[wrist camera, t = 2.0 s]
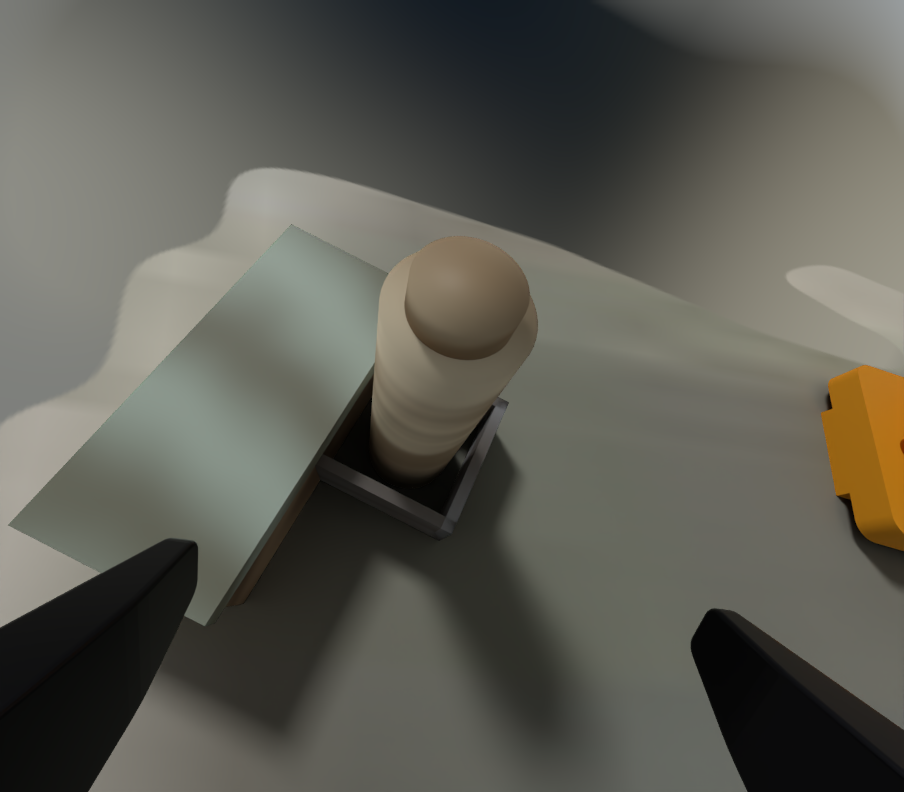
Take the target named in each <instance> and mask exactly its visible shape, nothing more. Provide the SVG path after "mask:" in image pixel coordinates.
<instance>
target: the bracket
mask: <svg viewBox="0 0 904 792" xmlns="http://www.w3.org/2000/svg"><path fill="white" fill-rule="evenodd" d="M828 388H829V393H830V398H831V403H832V408H833V409H830V410H827V411H825V412H822V413H821V416H822V422H823V427H824V432H825V438H826V443H827V448H828V454H829V459H830V464H831V470H832V475H833V480H834V486H835V491H836V496H840V497H843V498H846V499H850V500H851V502H852V507H853V512H854V517H855V521H856V524H857V527H858V528H859V530H860V532H861V533H862V534H863V535H864V536H865V537H866V538H867V539H868V540H870V541H872V542H874V543H877V544H881V545H884V546H888V547H891V548H895V549H898V550H901V551H904V377H901V376H898V375H895V374H892V373H889V372H886V371H883V370H880V369H877V368H874V367H871V366H867V365H863V366H860V367H858V368H856V369H853V370H851V371H849V372H846V373H844V374H842V375H839V376H837V377H835V378H832V379H831V380H830V381H829V383H828Z"/></svg>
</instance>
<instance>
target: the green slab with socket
mask: <svg viewBox="0 0 904 792" xmlns="http://www.w3.org/2000/svg"><path fill="white" fill-rule="evenodd" d="M387 276H388V273H386V272H384V271H382V270H380V269H379V268H377V267H375V266H373V265H371V264H369V263H367V262H365V261H363V260H361V259H359V258H357V257H355V256H353V255H351V254H349V253H347V252H345V251H343V250H341V249H339V248H337V247H335V246H333V245H331V244H329V243H327V242H325V241H323V240H321V239H320V238H318V237H316V236H314V235H312V234H310V233H308V232H306V231H304V230H302V229H300V228H298V227H296V226H294V225H292V224H291V225H290V226H289V227H288V228H287V229H286V231H285V232H284V233H283V234H282V235H281V236H280V237H279V238H278V239H277V240H276V241H275V242H274V243H273V244H272V245H271V246H270V248H269V249H268V250H267V251H266V252H265V253H264V254H263V255H262V256H261V257H260V258H259V259H258V260H257V261H256V262H255V263H254V265H253V266H252V267H251V268H250V269H249V270H248V271H247V272H246V273H245V274H244V275H243V276H242V277H241V278H240V279H239V280H238V282H237V283H236V284H235V285H234V286H233V287H232V288H231V289H230V290H229V291H228V292H227V293H226V294H225V295H224V296H223V297H222V298H221V300H220V301H219V302H218V303H217V304H216V305H215V306H214V307H213V308H212V309H211V310H210V311H209V312H208V313H207V314H206V315H205V317H204V318H203V319H202V320H201V321H200V322H199V323H198V324H197V325H196V326H195V327H194V328H193V329H192V330H191V331H190V332H189V334H188V335H187V336H186V337H185V338H184V339H183V340H182V341H181V342H180V343H179V344H178V345H177V346H176V347H175V348H174V349H173V350H172V352H171V353H170V354H169V355H168V356H167V357H166V358H165V359H164V360H163V361H162V362H161V363H160V364H159V365H158V366H157V367H156V369H155V370H154V371H153V372H152V373H151V374H150V375H149V376H148V377H147V378H146V379H145V380H144V381H143V382H142V383H141V384H140V386H139V387H138V388H137V389H136V390H135V391H134V392H133V393H132V394H131V395H130V396H129V397H128V398H127V399H126V400H125V401H124V403H123V404H122V405H121V406H120V407H119V408H118V409H117V410H116V411H115V412H114V413H113V414H112V415H111V416H110V417H109V418H108V419H107V421H106V422H105V423H104V424H103V425H102V426H101V427H100V428H99V429H98V430H97V431H96V432H95V433H94V434H93V435H92V436H91V438H90V439H89V440H88V441H87V442H86V443H85V444H84V445H83V446H82V447H81V448H80V449H79V450H78V451H77V452H76V453H75V455H74V456H73V457H72V458H71V459H70V460H69V461H68V462H67V463H66V464H65V465H64V466H63V467H62V468H61V469H60V470H59V471H58V473H57V474H56V475H55V476H54V477H53V478H52V479H51V480H50V481H49V482H48V483H47V484H46V485H45V486H44V487H43V488H42V490H41V491H40V492H39V493H38V494H37V495H36V496H35V497H34V498H33V499H32V500H31V501H30V502H29V503H28V504H27V505H26V507H25V508H24V509H23V510H22V511H21V512H20V513H19V514H18V515H17V516H16V517H15V518H14V519H13V520H12V521H11V522H10V524H9V526H11V527H13V528H15V529H16V530H18V531H20V532H22V533H24V534H26V535H28V536H30V537H32V538H34V539H36V540H38V541H40V542H42V543H44V544H46V545H48V546H50V547H51V548H53V549H55V550H57V551H59V552H61V553H63V554H65V555H67V556H69V557H71V558H73V559H75V560H77V561H79V562H81V563H83V564H85V565H86V566H88V567H90V568H92V569H94V570H96V571H98V572H100V573H103V572H105V571H106V570H108V569H110V568H112V567H114V566H116V565H118V564H119V563H121V562H123V561H125V560H127V559H129V558H131V557H132V556H134V555H136V554H138V553H140V552H142V551H144V550H145V549H147V548H149V547H151V546H153V545H155V544H157V543H158V542H160V541H162V540H164V539H167V538H179V539H187V540H193V541H195V542H196V543H197V545H198V581H197V587H196V590H195V593H194V596H193V598H192V600H191V602H190V604H189V606H188V608H187V611H186V613H185V615H184V616H186V617H188V618H190V619H191V620H193V621H195V622H197V623H199V624H201V625H203V626H207V625H211V624H214V623H215V622H216V621H217V619H218V618H219V616H220V614H221V613H222V611H223V610H224V608H225V607H228V606H234V605H239V604H244V602H245V600H246V599H247V597H248V596H249V594H250V592H251V591H252V589H253V588H254V586H255V584H256V583H257V581H258V579H259V578H260V576H261V575H262V573H263V571H264V570H265V568H266V567H267V565H268V563H269V562H270V560H271V558H272V557H273V555H274V554H275V552H276V550H277V549H278V547H279V546H280V544H281V542H282V541H283V539H284V537H285V536H286V534H287V533H288V531H289V529H290V528H291V526H292V525H293V523H294V521H295V520H296V518H297V516H298V515H299V513H300V512H301V510H302V508H303V507H304V505H305V504H306V502H307V500H308V499H309V497H310V495H311V494H312V492H313V491H314V489H315V487H316V486H317V484H318V483H319V481H320V480H322V481H324V482H326V483H327V484H329V485H331V486H333V487H335V488H337V489H339V490H341V491H343V492H345V493H347V494H349V495H351V496H353V497H355V498H357V499H359V500H361V501H363V502H365V503H367V504H369V505H370V506H372V507H374V508H376V509H378V510H380V511H382V512H384V513H386V514H388V515H390V516H392V517H394V518H396V519H398V520H400V521H402V522H404V523H406V524H408V525H410V526H412V527H413V528H415V529H417V530H419V531H421V532H423V533H425V534H427V535H429V536H431V537H433V538H435V539H437V540H441V539H443V538H445V537H447V536H449V535H451V534H452V533H453V530H454V528H455V526H456V523H457V521H458V519H459V516H460V514H461V512H462V510H463V507H464V505H465V503H466V500H467V498H468V496H469V493H470V491H471V489H472V486H473V484H474V482H475V480H476V477H477V475H478V473H479V470H480V468H481V466H482V463H483V461H484V459H485V456H486V454H487V452H488V449H489V447H490V445H491V443H492V440H493V438H494V436H495V433H496V431H497V429H498V426H499V424H500V422H501V419H502V417H503V415H504V413H505V410H506V408H507V406H508V403H509V402H507V401H505V400H503V399H501V398H499V397H497V399H496V400H495V401H494V403H493V404H492V405H491V407H490V408H489V409H488V411H487V412H486V413H485V415H484V416H483V417H482V419H481V420H480V421H479V423H478V424H477V425H476V426H477V427H479V429H478V431H477V433H476V436H475V438H474V440H473V442H472V444H471V446H470V449H469V451H468V453H467V455H466V457H465V460H464V462H463V464H462V466H461V468H460V471H459V473H458V475H457V477H456V479H455V481H454V484H453V486H452V488H451V490H450V492H449V495H448V497H447V499H446V501H445V503H444V505H443V508H442V510H441V512H440V514H439V513H437V512H435V511H433V510H432V509H430V508H428V507H426V506H424V505H422V504H420V503H418V502H416V501H414V500H412V499H410V498H408V497H406V496H404V495H402V494H400V493H398V492H396V491H394V490H392V489H390V488H389V487H387V486H385V485H383V484H381V483H379V482H377V481H375V480H373V479H371V478H369V477H367V476H365V475H363V474H361V473H359V472H357V471H355V470H353V469H351V468H349V467H347V466H345V465H344V464H342V463H340V462H338V461H336V460H334V459H333V458H334V457H335V455H336V454H337V452H338V450H339V449H340V447H341V445H342V444H343V442H344V441H345V439H346V437H347V436H348V434H349V433H350V431H351V429H352V428H353V426H354V424H355V423H356V421H357V420H358V418H359V416H360V415H361V413H362V412H363V410H364V408H365V407H366V405H367V403H368V402H369V400H370V399H371V397H372V395H373V381H374V367H375V353H376V339H377V324H378V310H379V297H380V293H381V288H382V286H383V283H384V281H385V279H386V277H387Z"/></svg>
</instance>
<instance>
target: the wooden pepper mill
mask: <svg viewBox="0 0 904 792" xmlns="http://www.w3.org/2000/svg"><path fill="white" fill-rule="evenodd" d="M537 331H538V319H537V312H536V309H535V305H534V303H533V300H532V298H531V296H530V292H529V286H528V282H527V279H526V277H525V275H524V273H523V271H522V269H521V268H520V267H519V265H518V264H517V263H516V262H515V261H514V259H513V258H512V257H510V256H509V255H508V254H507V253H506V252H504V251H503V250H502V249H500V248H498V247H497V246H495V245H493V244H491V243H489V242H486V241H483V240H480V239H477V238H472V237H465V236H453V237H446V238H442V239H439V240H436V241H434V242H431V243H429V244H428V245H426V246H425V247H424V248H423V249H421V250H420V251H419V252H416V253H414V254H412V255H410V256H408V257H406V258H405V259H403V260H402V261H400V262H399V263H398V264H397V265H396V266H395V267H394V268H393V269H392V270H391V272H390V273H389V274H388V276H387V277H386V279H385V281H384V283H383V286H382V288H381V293H380V297H379V310H378V324H377V339H376V353H375V367H374V381H373V396H372V410H371V424H370V438H369V457H370V461H371V464H372V466H373V468H374V470H375V471H376V472H377V474H378V475H379V476H380V477H381V478H382V479H383V480H384V481H386V482H387V483H389V484H391V485H393V486H396V487H399V488H405V489H414V488H419V487H423V486H425V485H427V484H429V483H431V482H432V481H434V480H435V479H436V478H437V477H438V476H439V475H440V474H441V472H442V471H443V470H444V468H445V467H446V466H447V464H448V463H449V462H450V460H451V459H452V458H453V456H454V455H455V454H456V452H457V451H458V450H459V448H460V447H461V446H462V444H463V443H464V441H465V440H466V439H467V437H468V436H469V435H470V433H471V432H472V431H473V429H474V428H475V427H476V425H477V424H478V423H479V421H480V420H481V419H482V417H483V416H484V415H485V413H486V412H487V411H488V409H489V408H490V407H491V405H492V404H493V403H494V401H495V400H496V399H497V397H498V396H499V395H500V393H501V392H502V391H503V389H504V388H505V387H506V385H507V384H508V383H509V381H510V380H511V379H512V377H513V376H514V374H515V373H516V372H517V370H518V369H519V368H520V366H521V365H522V364H523V362H524V361H525V360H526V358H527V357H528V356H529V354H530V352H531V351H532V349H533V347H534V344H535V341H536V337H537Z"/></svg>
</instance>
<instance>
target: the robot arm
mask: <svg viewBox="0 0 904 792" xmlns="http://www.w3.org/2000/svg"><path fill="white" fill-rule="evenodd" d="M197 581H198V545H197V543H196V542H195V541H193V540H187V539H179V538H167V539H164V540H162V541H160V542H158V543H157V544H155V545H153V546H151V547H149V548H147V549H145V550H144V551H142V552H140V553H138V554H136V555H134V556H132V557H131V558H129V559H127V560H125V561H123V562H121V563H119V564H118V565H116V566H114V567H112V568H110V569H108V570H106V571H105V572H103V573H101V574H99V575H97V576H95V577H93V578H92V579H90V580H88V581H86V582H84V583H82V584H80V585H78V586H77V587H75V588H73V589H71V590H69V591H67V592H65V593H64V594H62V595H60V596H58V597H56V598H54V599H52V600H51V601H49V602H47V603H45V604H43V605H41V606H39V607H38V608H36V609H34V610H32V611H30V612H28V613H26V614H25V615H23V616H21V617H19V618H17V619H15V620H13V621H12V622H10V623H8V624H6V625H4V626H2V627H0V792H88V791H89V790H90V788H91V786H92V785H93V783H94V781H95V780H96V778H97V776H98V775H99V773H100V771H101V770H102V768H103V766H104V765H105V763H106V761H107V760H108V758H109V756H110V755H111V753H112V751H113V750H114V748H115V746H116V745H117V743H118V742H119V740H120V738H121V737H122V735H123V733H124V732H125V730H126V728H127V727H128V725H129V723H130V722H131V720H132V718H133V716H134V715H135V713H136V711H137V709H138V708H139V706H140V704H141V702H142V700H143V699H144V697H145V695H146V693H147V691H148V689H149V687H150V685H151V683H152V681H153V679H154V677H155V674H156V672H157V670H158V668H159V666H160V664H161V662H162V660H163V658H164V656H165V654H166V652H167V650H168V648H169V646H170V644H171V641H172V639H173V637H174V635H175V633H176V631H177V629H178V627H179V625H180V623H181V621H182V619H183V617H184V615H185V613H186V611H187V608H188V606H189V604H190V602H191V600H192V598H193V596H194V593H195V590H196V587H197ZM691 652H692V656H693V658H694V661H695V664H696V666H697V669H698V672H699V674H700V677H701V679H702V682H703V685H704V687H705V690H706V693H707V695H708V698H709V701H710V703H711V706H712V709H713V711H714V714H715V717H716V719H717V722H718V724H719V727H720V730H721V732H722V735H723V737H724V740H725V742H726V745H727V747H728V750H729V752H730V754H731V757H732V759H733V761H734V764H735V766H736V768H737V770H738V772H739V775H740V777H741V779H742V781H743V783H744V785H745V787H746V790H747V792H904V730H903V729H901V728H900V727H899V726H897V725H896V724H894V723H893V722H891V721H890V720H889V719H887V718H886V717H884V716H883V715H881V714H880V713H879V712H877V711H876V710H874V709H873V708H872V707H870V706H869V705H867V704H866V703H864V702H863V701H862V700H860V699H859V698H857V697H856V696H854V695H853V694H852V693H850V692H849V691H847V690H846V689H844V688H843V687H842V686H840V685H839V684H837V683H836V682H835V681H833V680H832V679H830V678H829V677H827V676H826V675H825V674H823V673H822V672H820V671H819V670H817V669H816V668H815V667H813V666H812V665H810V664H809V663H808V662H806V661H805V660H803V659H802V658H800V657H799V656H798V655H796V654H795V653H793V652H792V651H790V650H789V649H788V648H786V647H785V646H783V645H782V644H780V643H779V642H778V641H776V640H775V639H773V638H772V637H771V636H769V635H768V634H766V633H765V632H763V631H762V630H761V629H759V628H758V627H756V626H755V625H753V624H752V623H751V622H749V621H748V620H746V619H745V618H743V617H742V616H741V615H739V614H738V613H736V612H734V611H730V610H724V609H716V608H714V609H710V610H709V611H707V613H706V614H705V616H704V618H703V619H702V621H701V623H700V625H699V626H698V628H697V630H696V632H695V634H694V635H693V637H692V639H691Z"/></svg>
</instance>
